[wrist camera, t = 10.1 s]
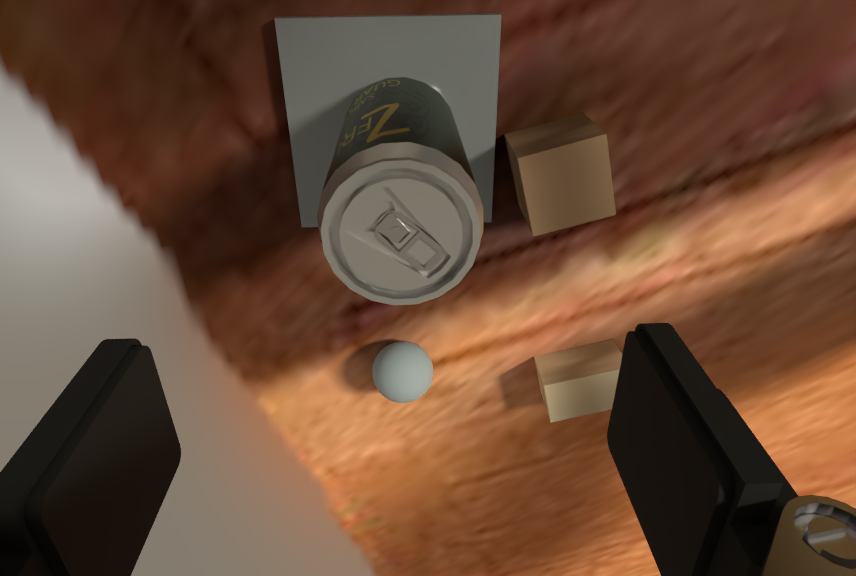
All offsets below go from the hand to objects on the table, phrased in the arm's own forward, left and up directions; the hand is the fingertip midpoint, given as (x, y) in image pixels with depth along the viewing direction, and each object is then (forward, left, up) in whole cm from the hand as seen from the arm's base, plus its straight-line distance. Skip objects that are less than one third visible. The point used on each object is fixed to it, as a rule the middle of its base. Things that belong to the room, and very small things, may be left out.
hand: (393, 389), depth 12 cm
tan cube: (-8, +2, -20) cm, 22 cm away
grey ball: (0, +14, -18) cm, 23 cm away
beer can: (0, 0, -19) cm, 19 cm away
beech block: (-11, +15, -20) cm, 28 cm away
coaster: (0, 0, -20) cm, 20 cm away
